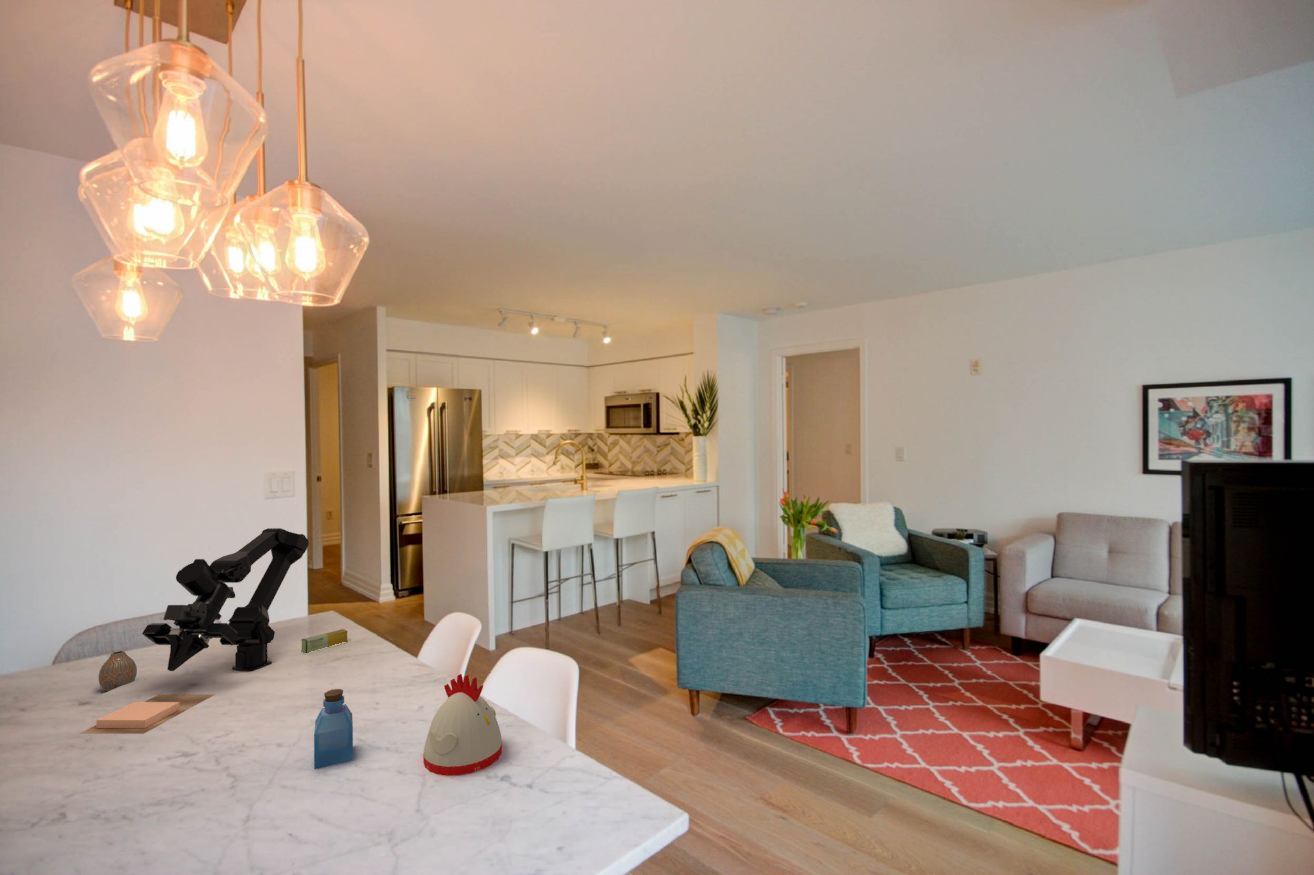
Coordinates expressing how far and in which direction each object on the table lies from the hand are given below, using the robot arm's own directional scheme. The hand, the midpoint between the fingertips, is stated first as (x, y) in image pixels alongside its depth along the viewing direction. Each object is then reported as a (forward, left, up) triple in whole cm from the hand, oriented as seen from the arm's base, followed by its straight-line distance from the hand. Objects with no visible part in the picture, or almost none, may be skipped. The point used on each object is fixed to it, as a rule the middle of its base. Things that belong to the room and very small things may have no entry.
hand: (170, 670), depth 134 cm
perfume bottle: (+7, +51, -9) cm, 52 cm away
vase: (-5, -25, -9) cm, 27 cm away
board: (+5, +1, -9) cm, 10 cm away
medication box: (-43, 0, -9) cm, 44 cm away
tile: (+3, +1, -6) cm, 7 cm away
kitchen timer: (0, +74, -9) cm, 75 cm away
